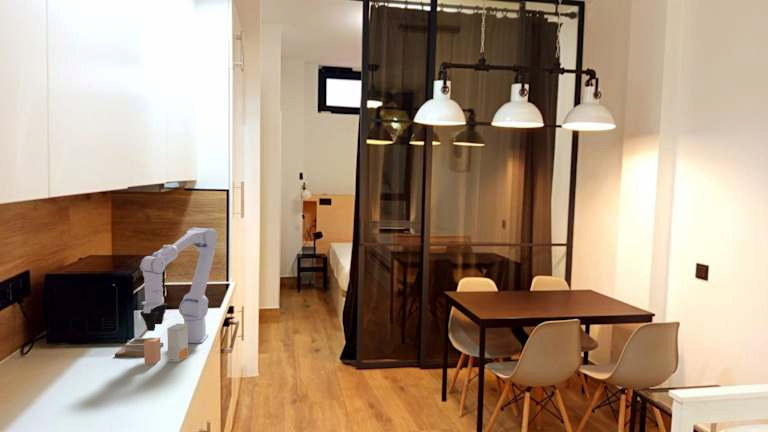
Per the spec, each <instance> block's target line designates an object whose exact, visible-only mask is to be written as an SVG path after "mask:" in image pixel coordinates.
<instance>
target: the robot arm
mask: <svg viewBox="0 0 768 432" xmlns="http://www.w3.org/2000/svg"><path fill="white" fill-rule="evenodd" d="M218 238H219V236H218V234H217V232H216V230H215V229H214V228H212V227H211V228H205V227H204V228H202V227H197V226H196V227H191V228H190V229H189V230H187V231H186V234H184V235H183V236H182V237H180V238H179V239H178V240H176V241H175V242H174V243H173V244H164V245H162V248H160V249H159V250H157V251H154V252H153V253H152V255H147V256H145V257H144V258H143V259H141V262H140V264H139V269H140V270H141V271H142V276H143V278H144V280H143V281H144V282H143V283H144V300H145V301H142V302H141V305H143V310H142V311H140V316H141V317H142V319H143V321H144V324H145V326H146V330H147V332H154V331H155V329H156V325H162V324H163V322H164V317H165V312H166V309H167V307H168V303H166V302H165V297H164V296H163V295H164V294H163V292H164V291H163V272H164V271H165V269H166V266H167V265H168V264H170V263H171V262H173V261H174V260H175V259H176V258H178V256H179V253H180V252H181V251H183V250H184V249H187V248H188V247H189V246H192V245H193V246H194V247H195V249H197V250H198V253H199V256H198V259H197V263H196V267H195V271H194V276H193V279H192V283H191V286H190V290H189V292H188V293H186V294H184V295H183V299H182V301H181V302H180V304H179V307H178V312H179V314H180V315H181V316H182V319H183V324H187V326H188V344H203V342H204V341H205V340H206V339H207V337H209V334H208V333H206V332H207V329H206V328H207V327H206V326H207V325H206V316H207V314H208V311H209V307H208V306H209V302H210V301H209V299H208V297H207V296H206V294H205V293H206V288H207V285H208V281H209V278H210V273H211V269H212V265H213V262H214V257H215V253H216V246H217V243H218Z"/></svg>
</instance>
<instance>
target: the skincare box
mask: <svg viewBox="0 0 768 432" xmlns="http://www.w3.org/2000/svg"><path fill="white" fill-rule="evenodd" d="M166 331H167V362H169V363H180V362H181V361H183V360H185V359H186V358H188V357H189V343H188V326H187V324H184V323H179V322H178V323H175V324H173V325H171V326H169V327H168V328H167V330H166Z"/></svg>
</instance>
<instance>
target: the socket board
mask: <svg viewBox="0 0 768 432" xmlns="http://www.w3.org/2000/svg"><path fill="white" fill-rule="evenodd" d="M147 338H148V337H143V338H142V337H138V338H137V337H135V338H134V337H133V338H132V339H130V340H129V341H127V343H125V344H124V345H123V347H121V348H120V349H118V351H116V352H115V353H114V358H132V357H133V358H134V357H136V358H137V357H140V358H141V357H144V341H145V340H146V339H147ZM163 346H164V342H160V349H162V348H163Z"/></svg>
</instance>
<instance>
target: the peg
mask: <svg viewBox="0 0 768 432" xmlns="http://www.w3.org/2000/svg"><path fill="white" fill-rule="evenodd" d="M146 338H147V339H146V340H145V341H144V356H143V357H144V365H157V364H159V362H160V361H161V360H162V357H161V355H162V354H161V352H162V351H161V350H162V348H160V343H161V337H146Z"/></svg>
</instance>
